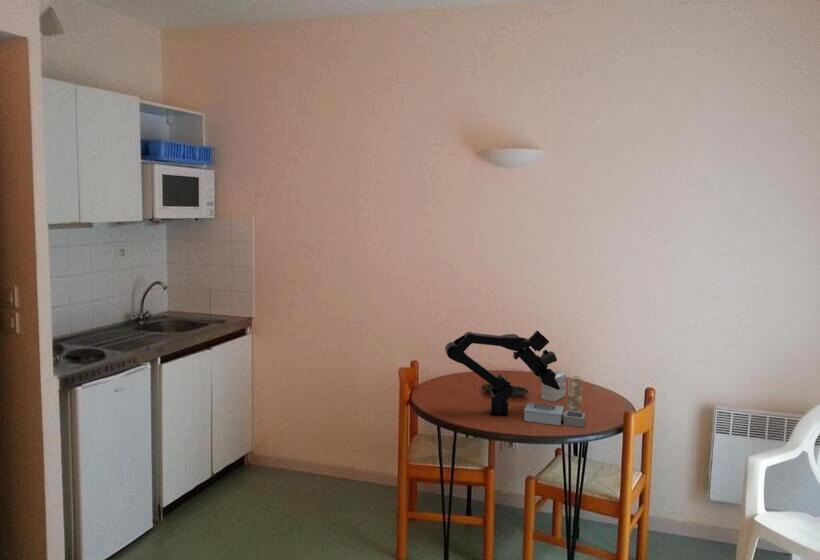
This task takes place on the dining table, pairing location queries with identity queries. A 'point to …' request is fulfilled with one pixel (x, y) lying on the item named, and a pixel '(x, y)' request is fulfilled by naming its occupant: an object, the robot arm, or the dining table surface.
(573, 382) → the wooden block
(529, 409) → the toolbox
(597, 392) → the dining table surface
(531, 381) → the dining table surface
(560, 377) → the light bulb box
